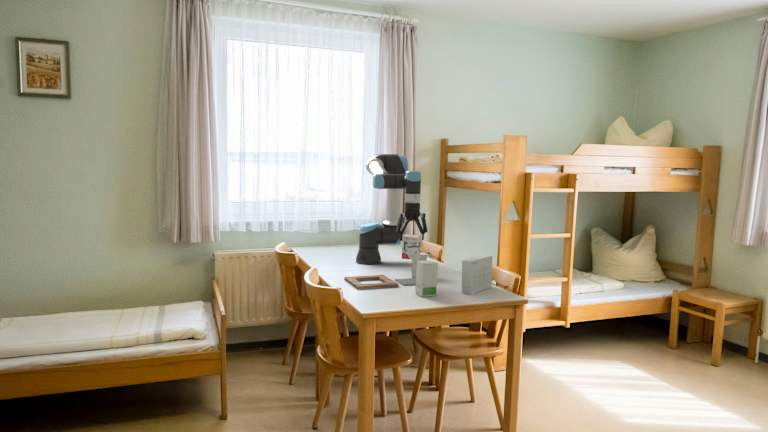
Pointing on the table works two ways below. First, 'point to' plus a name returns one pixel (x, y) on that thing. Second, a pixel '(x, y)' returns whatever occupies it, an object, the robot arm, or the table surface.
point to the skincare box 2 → (476, 274)
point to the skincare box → (426, 278)
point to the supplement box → (414, 263)
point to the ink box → (411, 247)
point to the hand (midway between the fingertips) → (411, 246)
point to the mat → (407, 281)
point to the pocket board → (386, 283)
